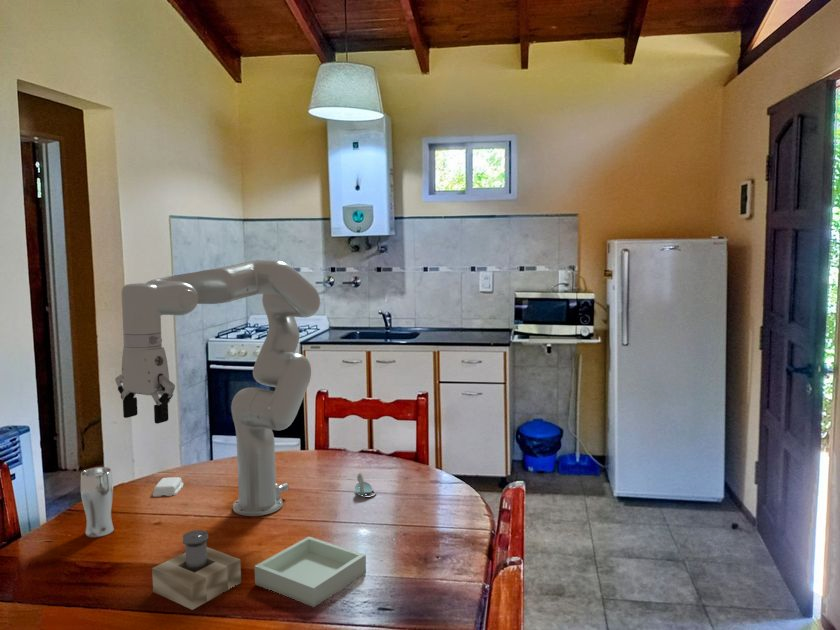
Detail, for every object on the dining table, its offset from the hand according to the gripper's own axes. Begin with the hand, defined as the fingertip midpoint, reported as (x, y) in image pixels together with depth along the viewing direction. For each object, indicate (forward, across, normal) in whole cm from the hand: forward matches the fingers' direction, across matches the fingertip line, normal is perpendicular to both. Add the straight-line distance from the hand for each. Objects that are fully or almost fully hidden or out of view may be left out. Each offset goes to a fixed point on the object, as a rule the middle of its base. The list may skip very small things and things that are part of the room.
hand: (145, 419), depth 145 cm
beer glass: (+31, +21, -3) cm, 38 cm away
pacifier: (+31, -23, -52) cm, 65 cm away
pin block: (+31, -19, +5) cm, 37 cm away
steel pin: (+31, -19, +5) cm, 37 cm away
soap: (+31, +28, -29) cm, 51 cm away
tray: (+31, -38, -8) cm, 49 cm away
